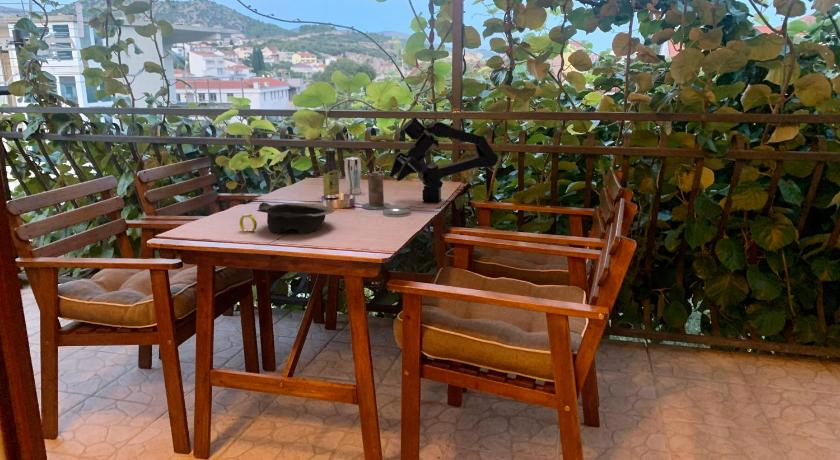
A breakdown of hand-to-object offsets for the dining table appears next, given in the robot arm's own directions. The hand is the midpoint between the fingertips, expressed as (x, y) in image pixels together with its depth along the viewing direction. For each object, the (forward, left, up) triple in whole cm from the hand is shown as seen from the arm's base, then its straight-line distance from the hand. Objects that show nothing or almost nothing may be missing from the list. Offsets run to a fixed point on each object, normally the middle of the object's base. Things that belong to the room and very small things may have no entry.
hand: (394, 178), depth 230 cm
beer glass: (+24, -16, -11) cm, 31 cm away
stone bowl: (+19, +41, -11) cm, 46 cm away
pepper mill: (+6, +4, -10) cm, 12 cm away
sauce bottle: (+29, -5, -11) cm, 32 cm away
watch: (+33, +49, -11) cm, 60 cm away
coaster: (+6, +4, -10) cm, 13 cm away
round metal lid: (-6, +13, -11) cm, 17 cm away
